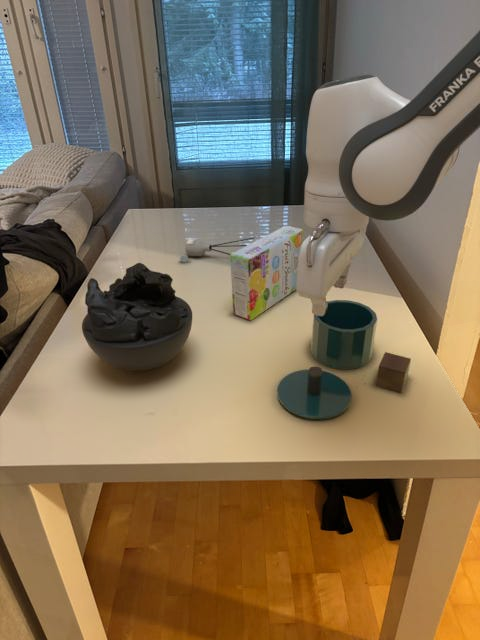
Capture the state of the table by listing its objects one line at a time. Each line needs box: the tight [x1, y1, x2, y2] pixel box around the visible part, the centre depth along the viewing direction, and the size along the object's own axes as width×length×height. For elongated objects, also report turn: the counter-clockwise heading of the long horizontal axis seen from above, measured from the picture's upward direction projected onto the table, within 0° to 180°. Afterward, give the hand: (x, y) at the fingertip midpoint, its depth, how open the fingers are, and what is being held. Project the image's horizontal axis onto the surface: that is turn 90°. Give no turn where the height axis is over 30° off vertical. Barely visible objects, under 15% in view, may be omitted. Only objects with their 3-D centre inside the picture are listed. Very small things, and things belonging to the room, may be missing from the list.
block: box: [375, 351, 412, 394], centre depth 82 cm, size 4×4×4 cm
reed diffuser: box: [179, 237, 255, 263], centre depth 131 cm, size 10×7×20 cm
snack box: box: [229, 225, 304, 321], centre depth 107 cm, size 21×6×15 cm, turn 141°
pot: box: [310, 299, 378, 371], centre depth 90 cm, size 12×12×8 cm
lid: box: [276, 366, 352, 420], centre depth 79 cm, size 13×13×6 cm
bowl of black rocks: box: [81, 262, 193, 372], centre depth 86 cm, size 20×20×19 cm
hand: (330, 299), depth 70 cm, fingers open, 8 cm apart
